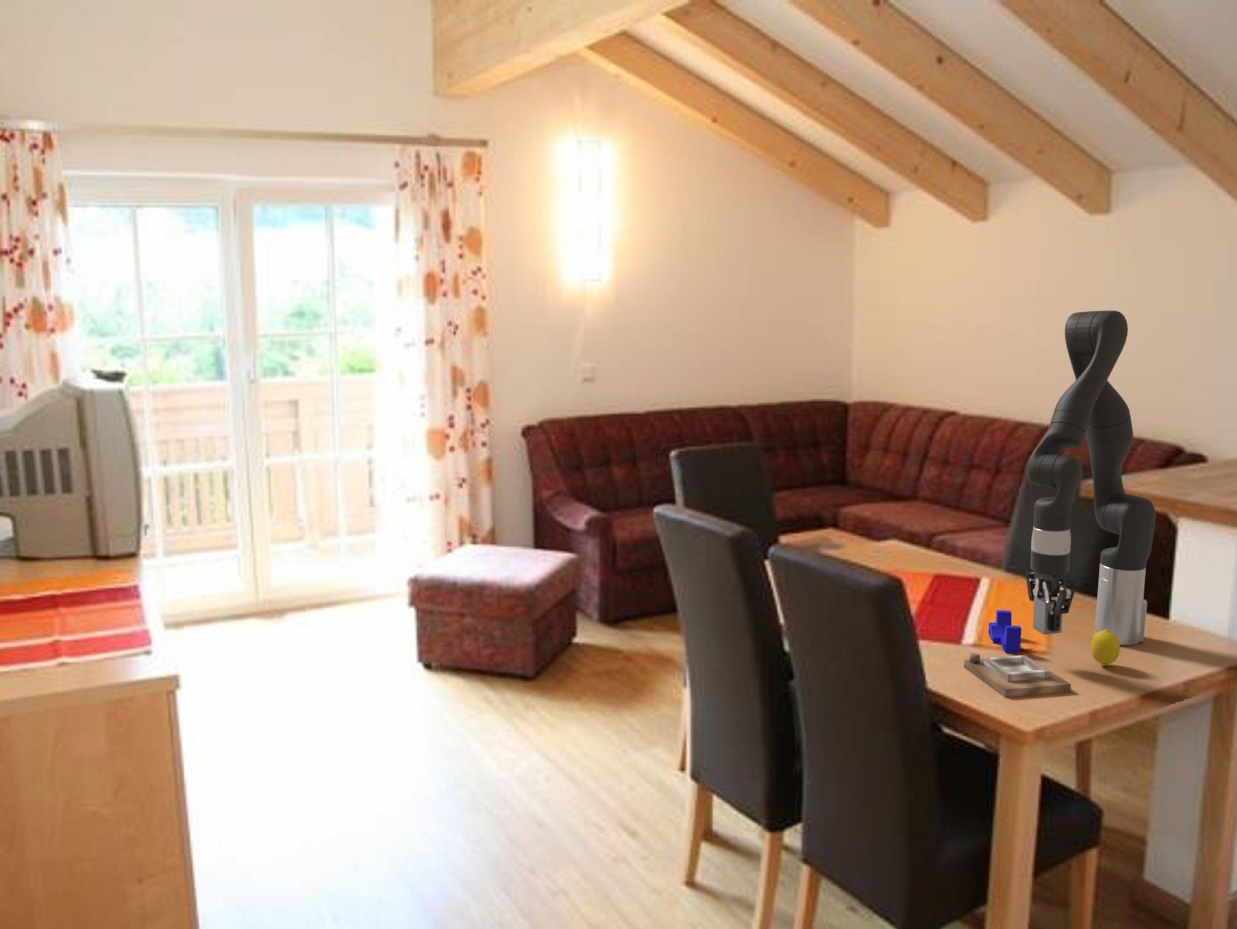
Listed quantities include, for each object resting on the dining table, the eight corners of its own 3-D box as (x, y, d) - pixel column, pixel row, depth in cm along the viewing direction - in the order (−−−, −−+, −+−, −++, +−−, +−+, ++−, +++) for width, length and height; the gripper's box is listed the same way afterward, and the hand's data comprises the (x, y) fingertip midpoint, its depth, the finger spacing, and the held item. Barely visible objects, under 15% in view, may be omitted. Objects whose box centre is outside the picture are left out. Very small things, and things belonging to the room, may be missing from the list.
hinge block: (1050, 626, 217) (1051, 594, 216) (1061, 632, 213) (1062, 600, 212) (1032, 628, 217) (1034, 596, 215) (1044, 634, 213) (1045, 602, 211)
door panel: (1025, 662, 217) (1025, 648, 217) (1070, 691, 202) (1071, 676, 201) (963, 667, 215) (964, 653, 214) (1005, 697, 199) (1005, 682, 199)
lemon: (1116, 672, 211) (1119, 635, 210) (1087, 667, 214) (1090, 631, 212) (1119, 664, 216) (1122, 628, 214) (1091, 659, 219) (1094, 623, 217)
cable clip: (988, 634, 234) (989, 609, 233) (1008, 635, 234) (1010, 610, 233) (998, 653, 223) (999, 627, 222) (1019, 654, 222) (1021, 628, 221)
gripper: (1088, 555, 205) (1084, 636, 209) (1046, 538, 219) (1043, 614, 222) (1055, 559, 204) (1051, 640, 207) (1014, 541, 218) (1012, 617, 221)
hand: (1047, 626), depth 215 cm, fingers closed on hinge block, 4 cm apart
